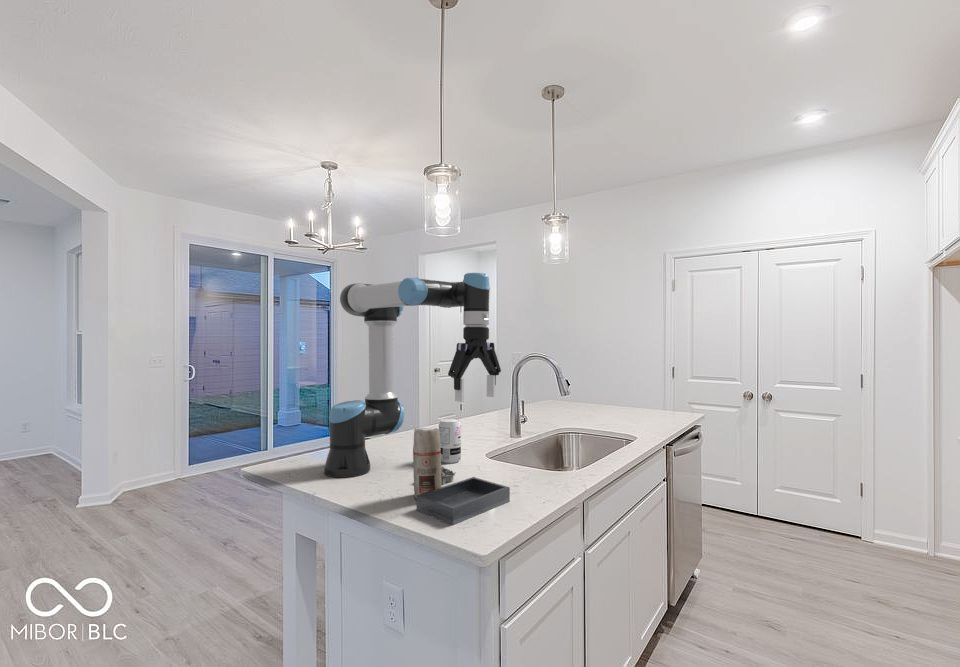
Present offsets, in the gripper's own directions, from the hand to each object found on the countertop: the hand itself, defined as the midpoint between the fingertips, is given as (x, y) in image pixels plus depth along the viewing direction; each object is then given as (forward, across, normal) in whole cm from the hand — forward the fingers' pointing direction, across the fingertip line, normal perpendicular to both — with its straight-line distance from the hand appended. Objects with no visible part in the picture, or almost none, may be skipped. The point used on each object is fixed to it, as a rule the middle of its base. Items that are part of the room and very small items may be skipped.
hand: (475, 399), depth 136 cm
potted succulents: (+28, +1, +17) cm, 33 cm away
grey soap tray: (+28, -9, -4) cm, 29 cm away
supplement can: (+28, +21, +32) cm, 47 cm away
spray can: (+28, -10, +9) cm, 31 cm away
